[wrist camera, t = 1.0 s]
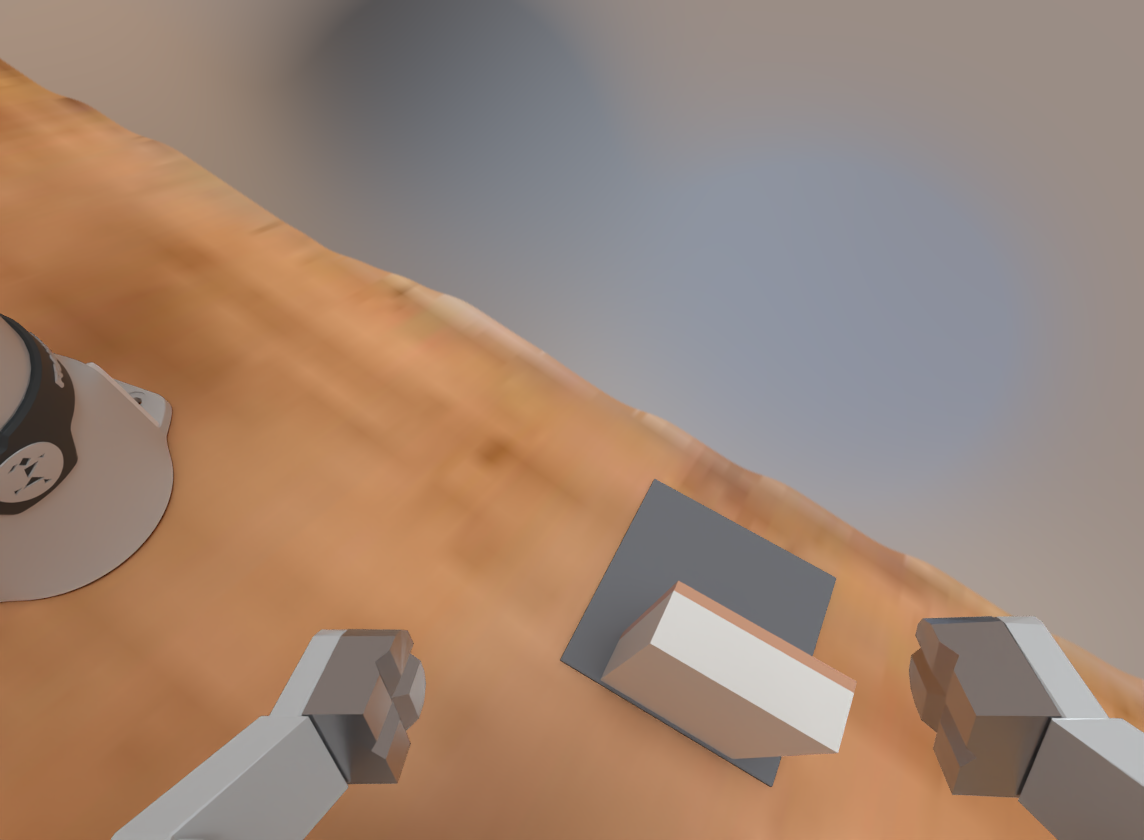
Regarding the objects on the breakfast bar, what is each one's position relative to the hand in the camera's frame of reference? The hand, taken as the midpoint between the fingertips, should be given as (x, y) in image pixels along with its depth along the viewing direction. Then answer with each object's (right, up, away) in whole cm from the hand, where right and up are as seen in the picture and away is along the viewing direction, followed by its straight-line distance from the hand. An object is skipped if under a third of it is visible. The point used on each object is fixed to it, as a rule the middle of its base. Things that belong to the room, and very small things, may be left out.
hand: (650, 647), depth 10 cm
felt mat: (+9, -11, +36) cm, 39 cm away
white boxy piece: (+6, -15, +33) cm, 37 cm away
